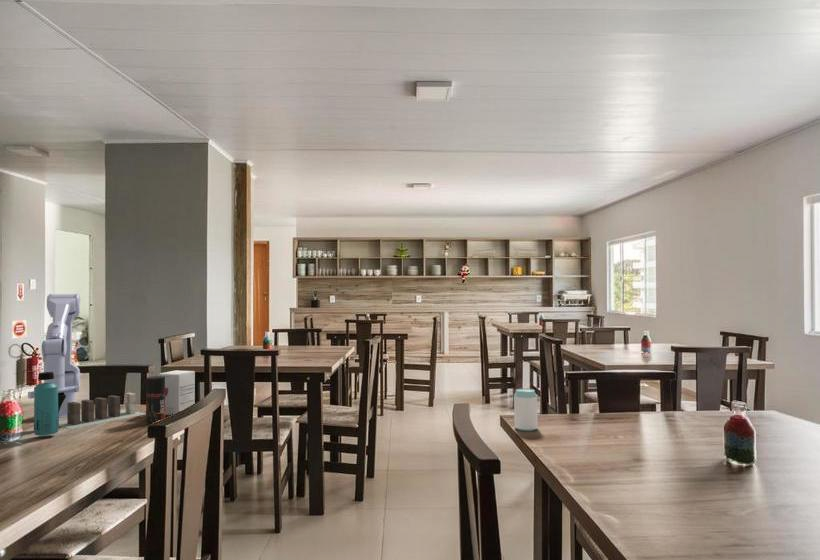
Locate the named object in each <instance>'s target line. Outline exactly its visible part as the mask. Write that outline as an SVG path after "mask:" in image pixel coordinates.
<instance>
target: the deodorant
mask: <svg viewBox="0 0 820 560" xmlns="http://www.w3.org/2000/svg"><path fill="white" fill-rule="evenodd" d="M145 413H146V414H145V422H146V424H150V423H153V422H156V421H158V420H161V419H164V418H165V419H166V415H165V376H159V375H156V376H153V375H152V376H147V377H145Z"/></svg>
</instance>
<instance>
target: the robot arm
mask: <svg viewBox="0 0 820 560" xmlns="http://www.w3.org/2000/svg"><path fill="white" fill-rule="evenodd" d="M46 309H47V311H48V314H49V317H50V318H52V322H51V323H49V325H47V330H46V336H45V340H42V342H41V355H42V363H43V372H53V373H54V379H50V380H43V383H50V382H53V383H55V384H57V385H58V416H59V419H62V418H63V419H64V418H67V403H69V402H77V401H76V396H77V395H76V393H79V392H80V387H81V370H80V368H79V367H78V366H77V365H75V364H74V363H73V362H72V352H73V351H72V347H73V343H72V341H73V324H74V319H76V318H78V317H79V316H80V314H81V297H80V294H79V293H70V294H69V293H67V294H66V293H57V294H56V293H53V294H52V293H49V294H48V295H47V298H46ZM27 399H30V400H32V399H34V390H33V391H28V392H27ZM80 415H81V412H80Z"/></svg>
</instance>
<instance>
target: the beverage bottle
mask: <svg viewBox="0 0 820 560" xmlns="http://www.w3.org/2000/svg"><path fill="white" fill-rule="evenodd" d="M50 379H54V373H53V372H44V371H43V372H39V373H38V375H37V381H44V380H50ZM33 391H34V398H33V403H32V404H33V433H34V436H49V435H55V434H57V433H58V432H59V431H60V428H59V427H60V426H59V424H58V423H59V421H60V418H59V416H58V385H57V384H55V383H53V382H50V383H44V382H42V383H37V385H35V386H34V388H33Z"/></svg>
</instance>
